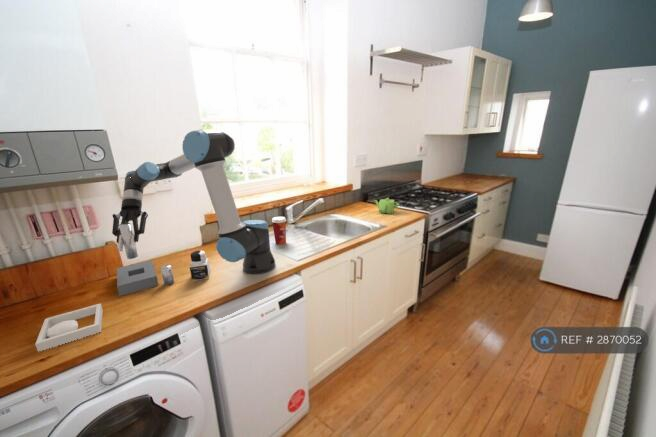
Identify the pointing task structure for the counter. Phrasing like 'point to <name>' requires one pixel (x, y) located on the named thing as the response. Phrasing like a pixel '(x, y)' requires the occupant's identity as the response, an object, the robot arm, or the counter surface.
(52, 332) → the white rounded block
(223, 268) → the counter surface
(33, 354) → the counter surface
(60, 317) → the grey rectangular frame
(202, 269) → the medicine bottle
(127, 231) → the tall steel pin
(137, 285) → the bored block
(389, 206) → the kettle
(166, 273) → the silver upright block
